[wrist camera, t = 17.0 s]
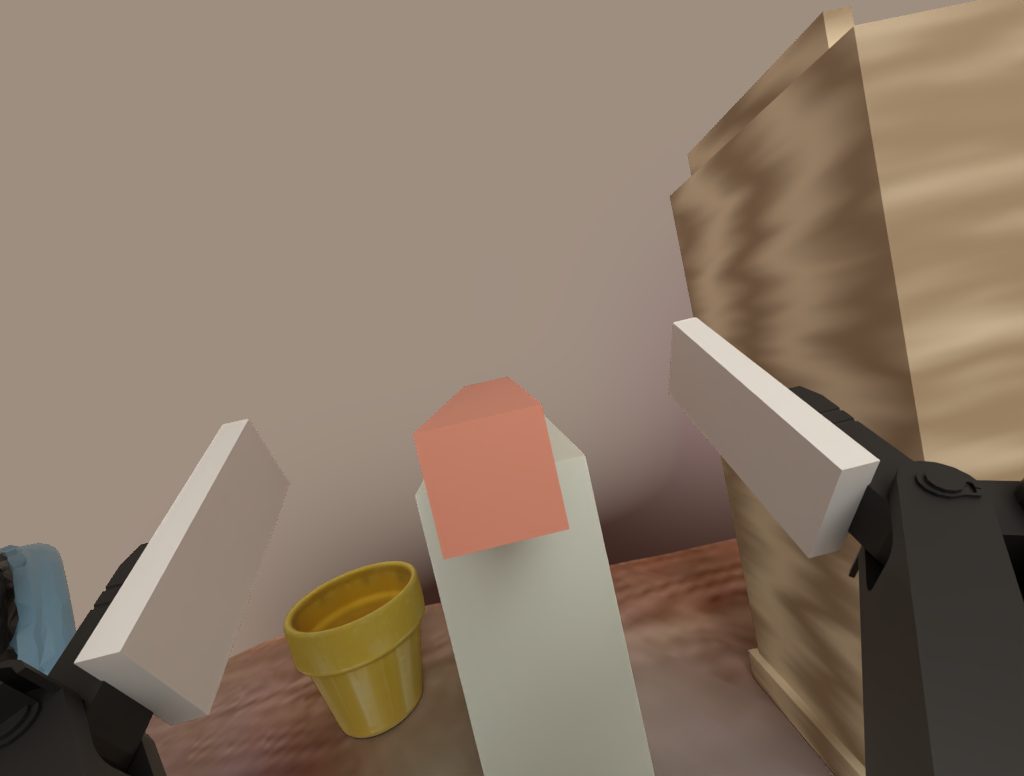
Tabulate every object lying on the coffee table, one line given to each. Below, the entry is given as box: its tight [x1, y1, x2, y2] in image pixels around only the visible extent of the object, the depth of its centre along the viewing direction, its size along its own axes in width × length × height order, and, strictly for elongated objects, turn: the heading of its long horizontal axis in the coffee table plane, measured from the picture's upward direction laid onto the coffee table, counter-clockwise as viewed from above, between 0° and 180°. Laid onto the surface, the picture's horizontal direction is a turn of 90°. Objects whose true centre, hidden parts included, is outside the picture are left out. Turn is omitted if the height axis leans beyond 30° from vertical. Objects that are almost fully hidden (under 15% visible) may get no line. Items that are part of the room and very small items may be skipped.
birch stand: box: [670, 0, 1024, 776], centre depth 22 cm, size 15×9×34 cm, turn 3°
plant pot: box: [284, 561, 425, 738], centre depth 35 cm, size 10×10×10 cm
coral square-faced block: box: [413, 377, 569, 560], centre depth 26 cm, size 26×4×4 cm, turn 3°
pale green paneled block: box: [415, 417, 655, 776], centre depth 32 cm, size 18×9×20 cm, turn 3°
